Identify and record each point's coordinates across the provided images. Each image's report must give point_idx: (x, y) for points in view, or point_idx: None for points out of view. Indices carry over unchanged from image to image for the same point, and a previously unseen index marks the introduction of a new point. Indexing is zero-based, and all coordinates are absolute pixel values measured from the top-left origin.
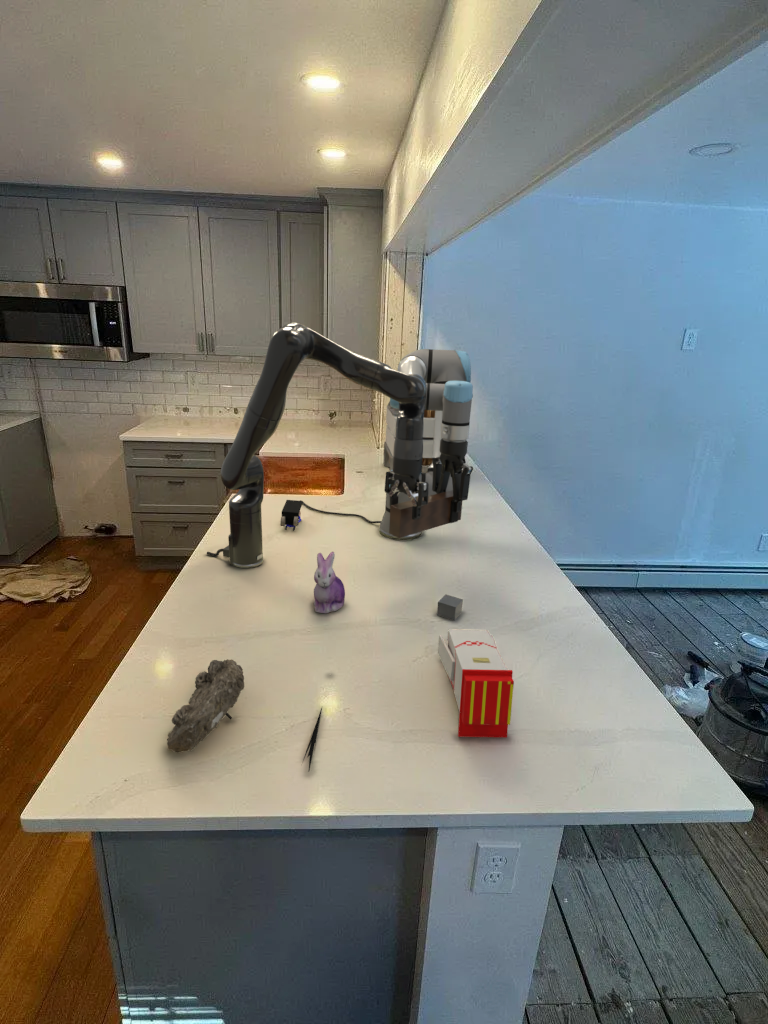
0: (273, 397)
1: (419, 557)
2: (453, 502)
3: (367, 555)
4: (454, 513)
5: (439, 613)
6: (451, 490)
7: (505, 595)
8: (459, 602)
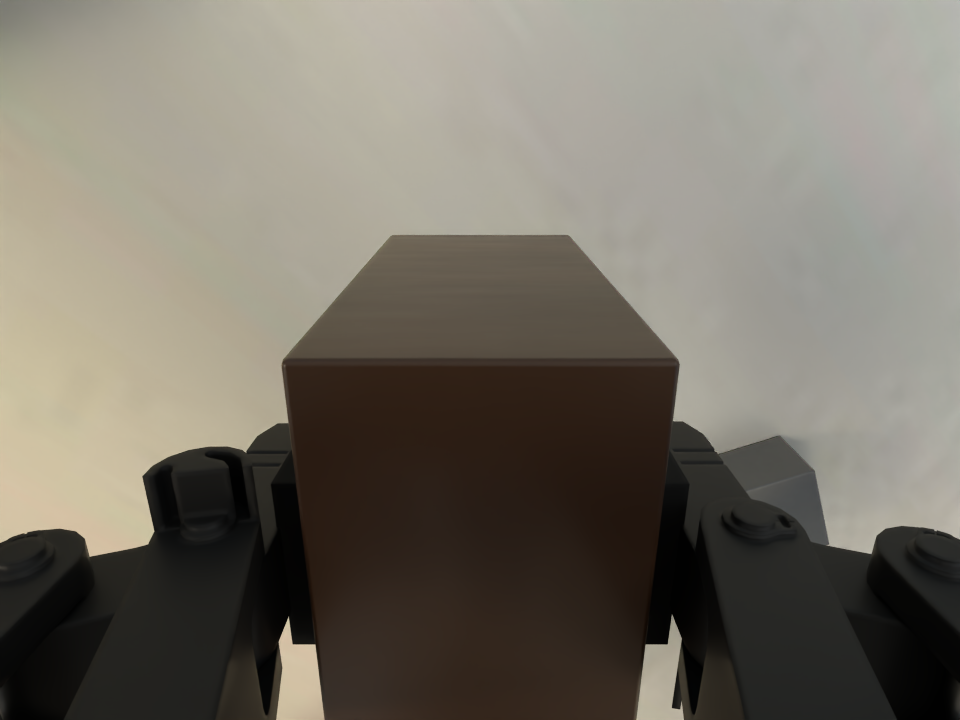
0: None
1: (189, 157)
2: (663, 616)
3: (36, 391)
4: None
5: None
6: (304, 432)
7: (858, 115)
8: (819, 505)
